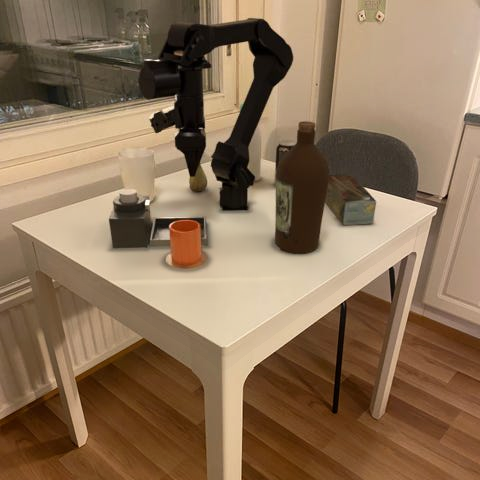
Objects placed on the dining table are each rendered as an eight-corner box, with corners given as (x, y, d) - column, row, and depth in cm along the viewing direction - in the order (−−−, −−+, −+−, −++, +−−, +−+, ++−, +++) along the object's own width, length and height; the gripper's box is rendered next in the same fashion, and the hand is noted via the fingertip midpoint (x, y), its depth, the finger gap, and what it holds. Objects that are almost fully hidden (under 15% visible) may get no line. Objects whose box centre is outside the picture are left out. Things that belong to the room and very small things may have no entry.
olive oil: (306, 231, 111) (318, 115, 97) (330, 251, 103) (346, 127, 89) (264, 238, 108) (269, 118, 93) (284, 258, 100) (294, 131, 85)
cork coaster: (207, 250, 102) (207, 248, 102) (207, 270, 95) (207, 267, 95) (167, 251, 101) (166, 249, 101) (164, 270, 95) (164, 268, 94)
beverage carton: (341, 226, 114) (344, 199, 110) (319, 197, 129) (322, 172, 126) (373, 224, 114) (378, 197, 111) (348, 196, 130) (352, 171, 126)
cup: (161, 194, 129) (158, 148, 122) (153, 206, 122) (149, 158, 115) (128, 192, 130) (123, 146, 123) (118, 205, 122) (112, 157, 116)
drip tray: (206, 224, 113) (206, 216, 112) (207, 247, 104) (206, 238, 102) (154, 225, 113) (153, 217, 111) (150, 248, 103) (149, 239, 102)
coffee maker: (151, 224, 113) (148, 188, 108) (146, 249, 102) (142, 210, 97) (121, 224, 112) (116, 189, 108) (113, 249, 102) (107, 211, 97)
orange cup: (201, 251, 101) (200, 219, 97) (201, 264, 96) (200, 232, 92) (172, 251, 100) (170, 220, 96) (171, 265, 95) (168, 232, 91)
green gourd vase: (194, 185, 135) (193, 141, 129) (211, 187, 134) (210, 142, 127) (186, 192, 131) (183, 146, 124) (202, 194, 130) (201, 148, 123)
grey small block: (150, 208, 105) (149, 200, 104) (149, 213, 103) (148, 204, 102) (146, 208, 105) (146, 200, 104) (145, 213, 103) (144, 204, 102)
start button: (138, 197, 104) (137, 188, 103) (136, 204, 101) (135, 194, 100) (121, 198, 104) (120, 188, 103) (119, 204, 101) (118, 194, 100)
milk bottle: (263, 176, 143) (266, 103, 132) (255, 184, 137) (257, 108, 126) (238, 173, 145) (239, 100, 134) (229, 181, 139) (229, 106, 128)
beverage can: (288, 181, 139) (291, 138, 132) (298, 188, 135) (302, 143, 128) (270, 184, 137) (273, 140, 130) (280, 191, 133) (283, 146, 126)
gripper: (153, 86, 107) (158, 158, 116) (145, 102, 91) (153, 184, 100) (204, 86, 107) (205, 157, 116) (205, 103, 92) (207, 183, 101)
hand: (192, 169), depth 108 cm, fingers open, 9 cm apart
